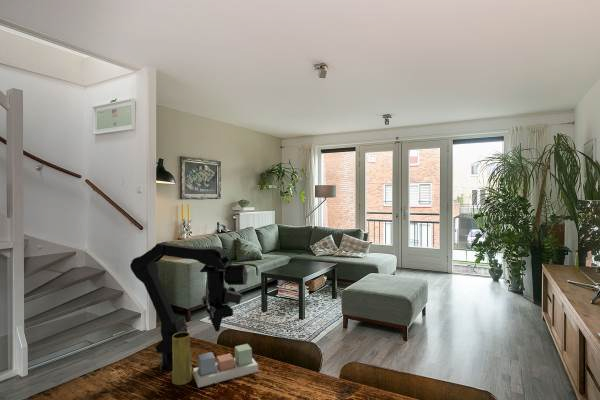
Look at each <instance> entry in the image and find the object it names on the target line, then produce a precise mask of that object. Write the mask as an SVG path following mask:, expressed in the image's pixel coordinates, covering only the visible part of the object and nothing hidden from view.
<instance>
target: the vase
mask: <svg viewBox="0 0 600 400" xmlns="http://www.w3.org/2000/svg"><path fill="white" fill-rule="evenodd" d="M190 335H191V334H190V332H188V331H187V332H179V333H176V334H174V335H173V336H172V352H173V369H172V372H171V373H172V376H171V377H172V379H171V382H172V384H173V385H176V386H183V385H186V384H188V383H190V382H191V381H192V380H193V378H194V376H193V366H192V356H191V336H190Z"/></svg>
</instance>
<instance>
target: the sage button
mask: <svg viewBox="0 0 600 400" xmlns="http://www.w3.org/2000/svg"><path fill="white" fill-rule="evenodd" d="M234 358H235V362H236V363H237V365H238V367H241V366H244V365H248V364H252V358H253V349H252V347H251V346H250V344H248V343H244V344H240V345H236V346H234Z"/></svg>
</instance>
